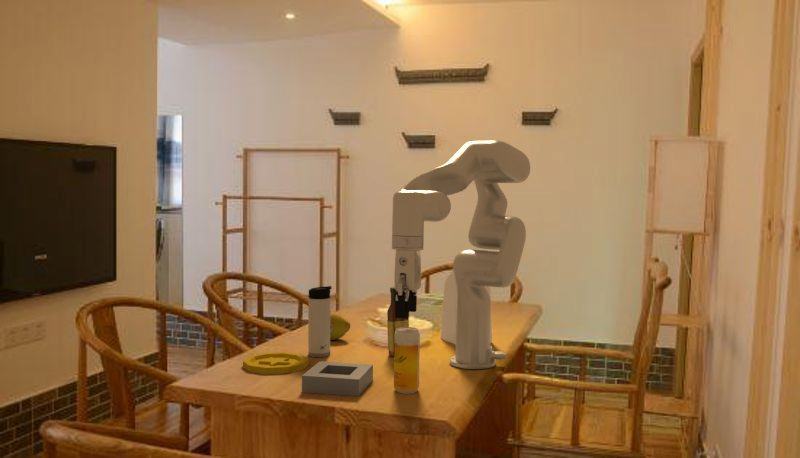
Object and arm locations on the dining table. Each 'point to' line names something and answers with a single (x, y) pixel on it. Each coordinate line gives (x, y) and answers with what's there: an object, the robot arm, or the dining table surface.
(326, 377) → the socket dock
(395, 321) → the sauce bottle
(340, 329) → the lemon
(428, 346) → the dining table surface
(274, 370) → the decorative disc
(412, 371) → the beer can
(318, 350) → the travel mug
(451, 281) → the milk
